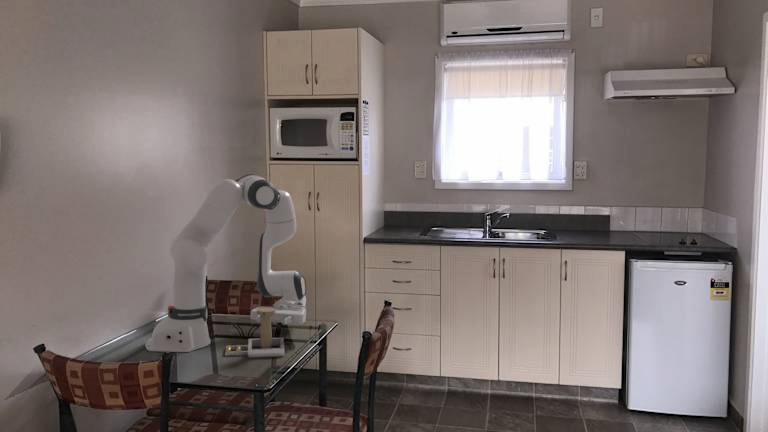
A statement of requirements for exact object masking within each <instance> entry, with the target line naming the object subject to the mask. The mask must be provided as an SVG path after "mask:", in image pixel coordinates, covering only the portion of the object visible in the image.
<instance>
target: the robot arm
mask: <svg viewBox="0 0 768 432" xmlns="http://www.w3.org/2000/svg"><path fill="white" fill-rule="evenodd" d="M245 203H246V204H247V205H249V206H252V207H254V208H255V209H256V208H257V209H259V210H264V213H265V219H266V228H265V231H264V232H263V233H262V234H261V236H260V240H259V249H258V251H259V252H258V274H257V280H256V282H257V283H256V287H257V291H258V292H259V293H260V294H261V295H262V296H263V297H264V298H269V297H281V298H280V299H279V300H278V301H276V302H275V303H274V304H273V305H272V306H262V305H261V306H260V305H259V306H257V307H255V308H253V309H251V310H250V319H251V320H252V321H256V322H257V323H261V316H260V315H258V314H257V309H258V308H273V309H275V314H273V315H272V316H271V323H272V322H274V323H281V325H287V324H299V325H301V324H304V323H305V322H306V320H307V305H306V304H307V298H306V294H307V284H306V283H307V282H306V279H305V277H304V276H303V274H302V273H301V272H300V271H299V270H281V271H280V270H276V271H275V270H272V251H273V249H274V248H276V247H277V246H279V245H281V244H284V243H286V242H288V241H289V240H290V239H292V238H293V237H294V235H295V234H296V232H297V217H296V212H295V207H294V202H293V199H292V197H291V194H290V193H289V192H288V191H286V190H282V189H277V188H276V186H275V185H274V184H273V183H272V182H271V181H269V180H267V179H266V178H264V177H263V176H259V175H256V174H252V173H251V174H245V175H242V176H241V177H240V178H238V179H236V180H234V179H229V178H225V179H224V178H223V179H222V180H221V181H219V182H218V184H216V186H215V187H214V188H213V189H212V190H211V192H210V193H209V194H208V196H206V198H205V200H204V201H203V202H202V204H201V206H200V207H199V208H198V210H197V211H196V213H195V215H194V216H193V217H192V218H191V220H190V221H188V223H187V224H186V225H185V227H183V229H182V230H181V231H180V233H179V234H178V235H177V236H176V238H174V240H173V241H172V243H171V246H170V249H169V250H170V256H171V258H172V259H173V262H174V275H173V278H174V279H173V283H172V286H173V287H172V289H173V290H172V291H173V295H172V296H173V304H168V306H167V317H165V319H163V320H162V321H160V322H159V323H158V324H157V325H156V326H155V327H154V328H153V331H152V334H151V337H150V338H149V339H148V340H147V341H146V342H145V344H144V345H145V347H146V349H147V350H148V351H147V350H146V349H145V350H146V351H147V352H165V353H167V352H170V353H172V352H173V353H174V352H175V353H179V352H180V353H190V352H193V351H195V350H197V349H202V348H205V347H206V346H207V347H208V346H209V345H210V344H211V342H212V341H211V338H210V335H209V330H208V324H207V322H208V321H207V320H208V307H207V306H208V305H207V303H206V282H207V281H206V279H207V270H208V259H209V256H208V250H207V249H208V247H209V246H210V244H211V243H212V242H213V241H215V239H217V237H219V236H220V235H221V233H222V232H223V230H224V229H225V227H226V226H227V224H228V223H229V222H230V220H231V219H232V217H233V215H234V213H236V210H237V209H238V208H239V207H240V206H241V205H243V204H245ZM145 347H144V348H145Z"/></svg>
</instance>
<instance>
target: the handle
mask: <svg viewBox="0 0 768 432" xmlns="http://www.w3.org/2000/svg"><path fill="white" fill-rule="evenodd" d="M257 314H258V315H260V316H261V322H260V335H259V336H260V337H259V338H260V340H261V346H260V347H261V348H260V349H265V348H272V346H271V342H272V338H273V336H272V335H273V334H272V322H271V316H272V315H273V314H275V309H273V308H258V309H257Z"/></svg>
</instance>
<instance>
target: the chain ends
mask: <svg viewBox="0 0 768 432" xmlns="http://www.w3.org/2000/svg"><path fill="white" fill-rule="evenodd" d="M275 346H276V347H275ZM254 347H255V348H254ZM256 347H262V346H261V340H260V337H259V338H258V337H257V338H248V342H247V344H244V345H242V344H237V345H230V344H228V345H226V346H225V353H224V356H225V357H228V356H232V357H233V356H247V358H249V359H250V358H268V357H269V358H271V357H275V358H276V357H285V342H284V337H272V342H271V346H270V347H271V348H265V349H261V348H256Z"/></svg>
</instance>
